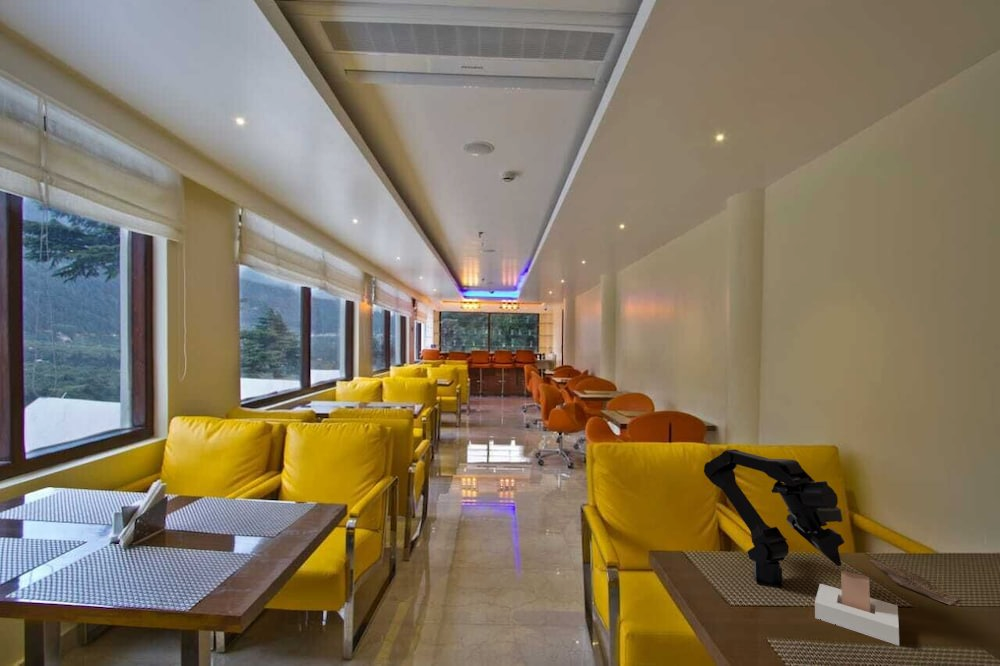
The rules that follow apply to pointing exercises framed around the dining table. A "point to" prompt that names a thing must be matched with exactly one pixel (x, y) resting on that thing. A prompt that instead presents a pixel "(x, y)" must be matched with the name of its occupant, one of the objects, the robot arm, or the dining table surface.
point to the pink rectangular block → (855, 591)
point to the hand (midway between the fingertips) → (829, 557)
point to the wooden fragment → (915, 583)
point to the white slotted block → (858, 615)
